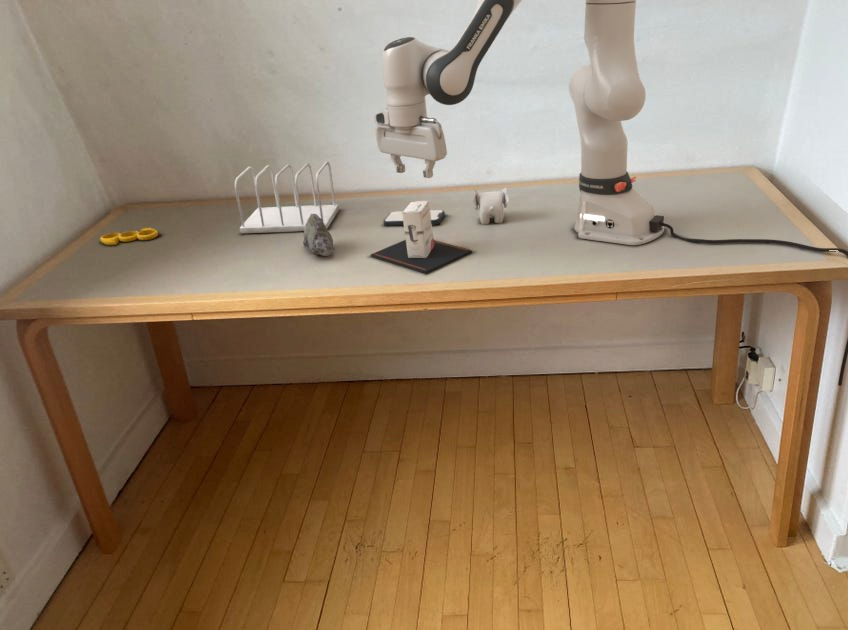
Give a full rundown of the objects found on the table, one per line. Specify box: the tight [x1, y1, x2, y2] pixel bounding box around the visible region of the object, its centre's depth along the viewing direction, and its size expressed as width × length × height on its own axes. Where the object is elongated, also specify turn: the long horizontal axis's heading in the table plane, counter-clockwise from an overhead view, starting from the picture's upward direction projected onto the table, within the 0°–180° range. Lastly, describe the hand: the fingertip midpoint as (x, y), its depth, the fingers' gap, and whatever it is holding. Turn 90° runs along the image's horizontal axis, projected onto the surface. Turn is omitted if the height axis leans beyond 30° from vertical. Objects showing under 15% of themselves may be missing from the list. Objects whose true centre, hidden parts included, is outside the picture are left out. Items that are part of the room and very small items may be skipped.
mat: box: [370, 239, 473, 275], centre depth 193 cm, size 20×16×1 cm
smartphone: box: [383, 209, 446, 227], centre depth 216 cm, size 9×2×16 cm
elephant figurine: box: [472, 186, 510, 225], centre depth 209 cm, size 10×12×9 cm
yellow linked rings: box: [99, 227, 159, 246], centre depth 223 cm, size 17×2×10 cm
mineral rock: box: [302, 214, 335, 257], centre depth 198 cm, size 13×11×10 cm
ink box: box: [402, 200, 435, 258], centre depth 190 cm, size 9×5×12 cm, turn 166°
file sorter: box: [234, 160, 340, 234], centre depth 220 cm, size 25×17×16 cm
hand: (414, 174), depth 183 cm, fingers open, 8 cm apart
